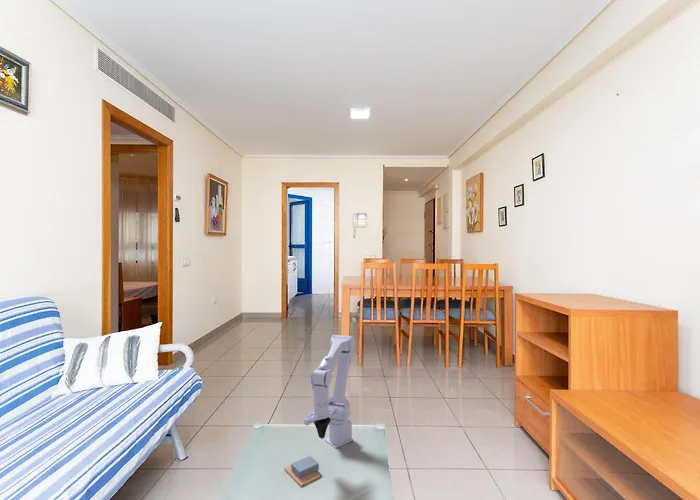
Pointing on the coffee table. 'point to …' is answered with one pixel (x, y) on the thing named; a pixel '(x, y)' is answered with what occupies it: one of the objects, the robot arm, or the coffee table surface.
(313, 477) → the mat
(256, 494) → the coffee table surface
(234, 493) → the coffee table surface
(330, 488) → the coffee table surface
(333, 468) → the coffee table surface
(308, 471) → the slab
